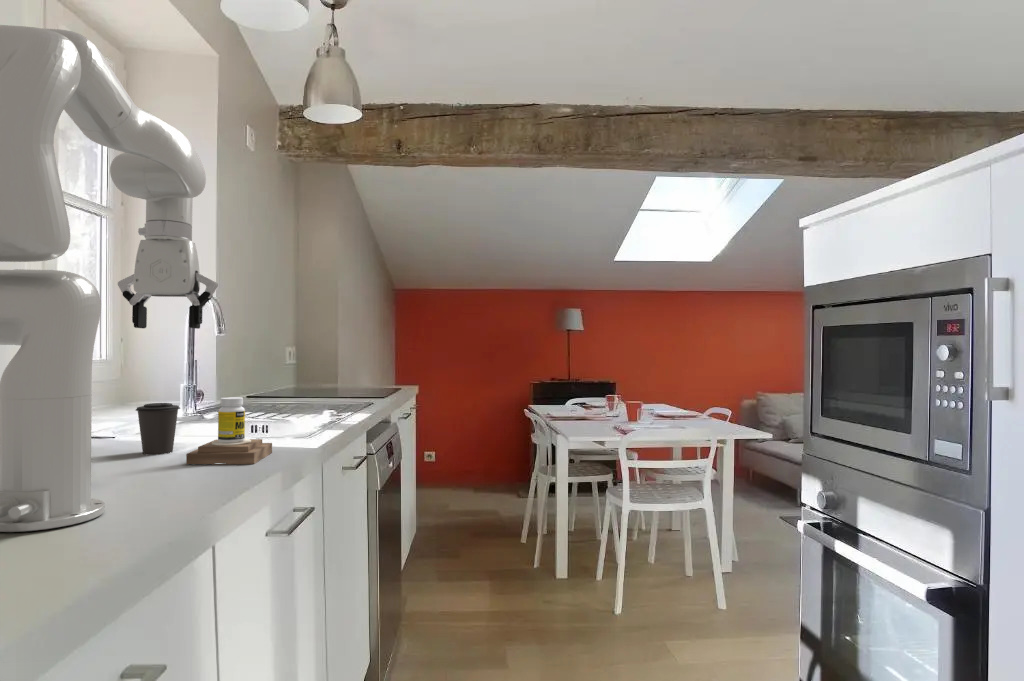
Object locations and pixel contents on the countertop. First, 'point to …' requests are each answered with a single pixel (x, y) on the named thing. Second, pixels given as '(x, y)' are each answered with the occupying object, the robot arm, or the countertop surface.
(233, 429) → the supplement bottle
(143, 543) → the countertop surface
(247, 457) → the plinth
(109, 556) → the countertop surface
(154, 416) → the coffee cup
